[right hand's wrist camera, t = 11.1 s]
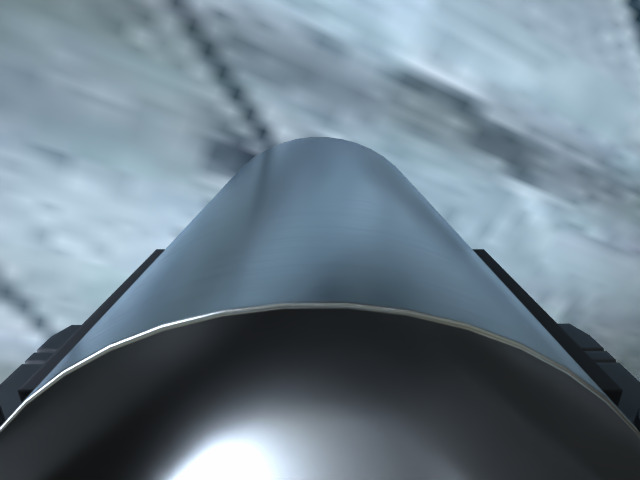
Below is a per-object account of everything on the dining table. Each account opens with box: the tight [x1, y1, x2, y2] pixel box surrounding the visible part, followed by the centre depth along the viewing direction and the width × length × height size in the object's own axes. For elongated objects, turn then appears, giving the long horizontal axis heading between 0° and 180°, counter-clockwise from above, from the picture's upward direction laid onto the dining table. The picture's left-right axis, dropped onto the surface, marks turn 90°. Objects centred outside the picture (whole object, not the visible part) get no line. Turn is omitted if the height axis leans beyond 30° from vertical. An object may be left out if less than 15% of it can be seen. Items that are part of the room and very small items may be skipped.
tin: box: [0, 137, 640, 480], centre depth 11 cm, size 9×9×13 cm
